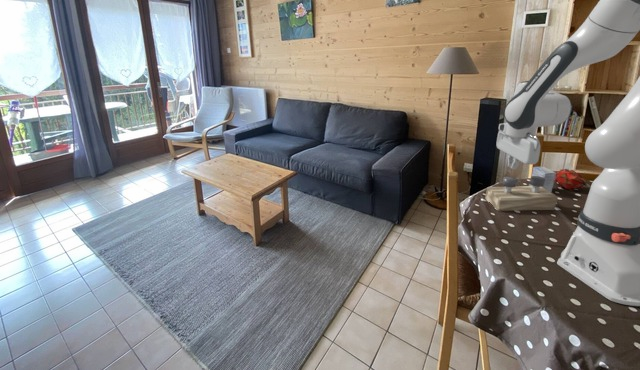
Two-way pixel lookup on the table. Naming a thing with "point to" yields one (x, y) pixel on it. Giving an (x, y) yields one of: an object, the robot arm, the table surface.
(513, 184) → the knob left
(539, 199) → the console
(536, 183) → the knob right
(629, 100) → the robot arm
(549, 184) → the medicine box
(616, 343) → the table surface
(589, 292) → the table surface
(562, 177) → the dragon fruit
